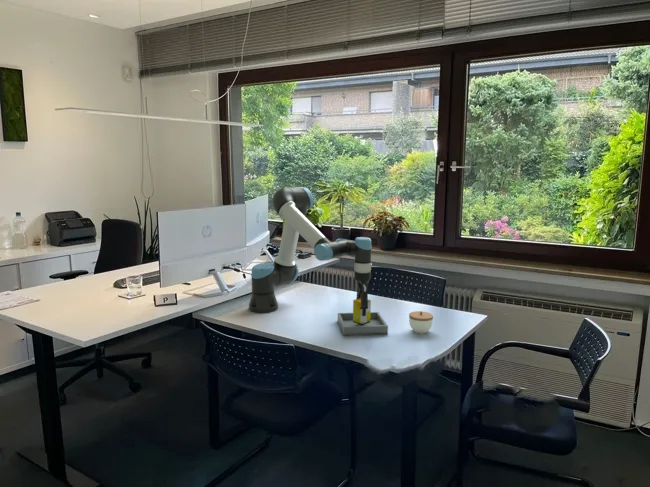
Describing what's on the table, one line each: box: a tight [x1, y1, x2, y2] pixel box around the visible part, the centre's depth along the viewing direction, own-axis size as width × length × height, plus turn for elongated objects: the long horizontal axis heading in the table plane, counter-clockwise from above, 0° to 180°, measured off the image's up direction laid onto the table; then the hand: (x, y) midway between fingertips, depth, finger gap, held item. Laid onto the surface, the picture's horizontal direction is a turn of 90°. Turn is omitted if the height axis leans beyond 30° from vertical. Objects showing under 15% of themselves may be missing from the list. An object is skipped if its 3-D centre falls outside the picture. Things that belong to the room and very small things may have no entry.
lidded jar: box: [408, 310, 434, 334], centre depth 223 cm, size 11×11×9 cm
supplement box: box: [352, 298, 372, 325], centre depth 227 cm, size 6×6×11 cm
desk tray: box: [337, 311, 389, 337], centre depth 228 cm, size 20×20×4 cm
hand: (361, 318), depth 227 cm, fingers closed on supplement box, 8 cm apart
